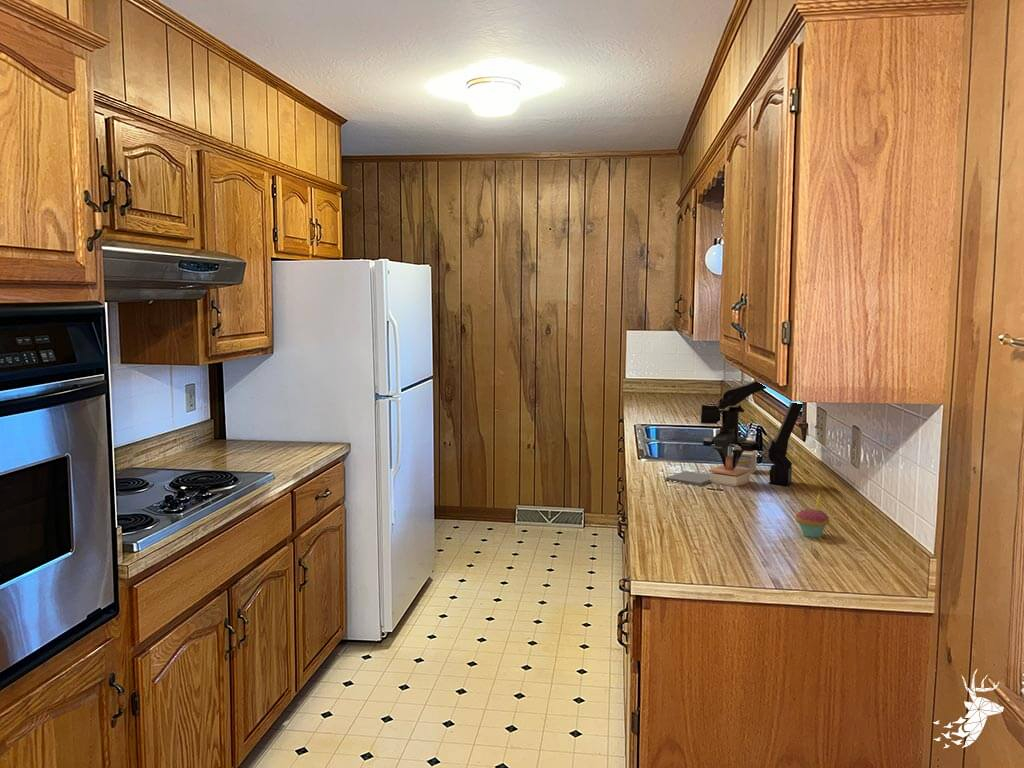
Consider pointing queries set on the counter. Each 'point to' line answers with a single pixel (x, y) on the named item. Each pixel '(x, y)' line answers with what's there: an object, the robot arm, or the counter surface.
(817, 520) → the cupcake
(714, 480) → the dish
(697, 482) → the trivet
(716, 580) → the counter surface
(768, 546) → the counter surface
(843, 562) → the counter surface
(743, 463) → the container
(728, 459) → the lid
